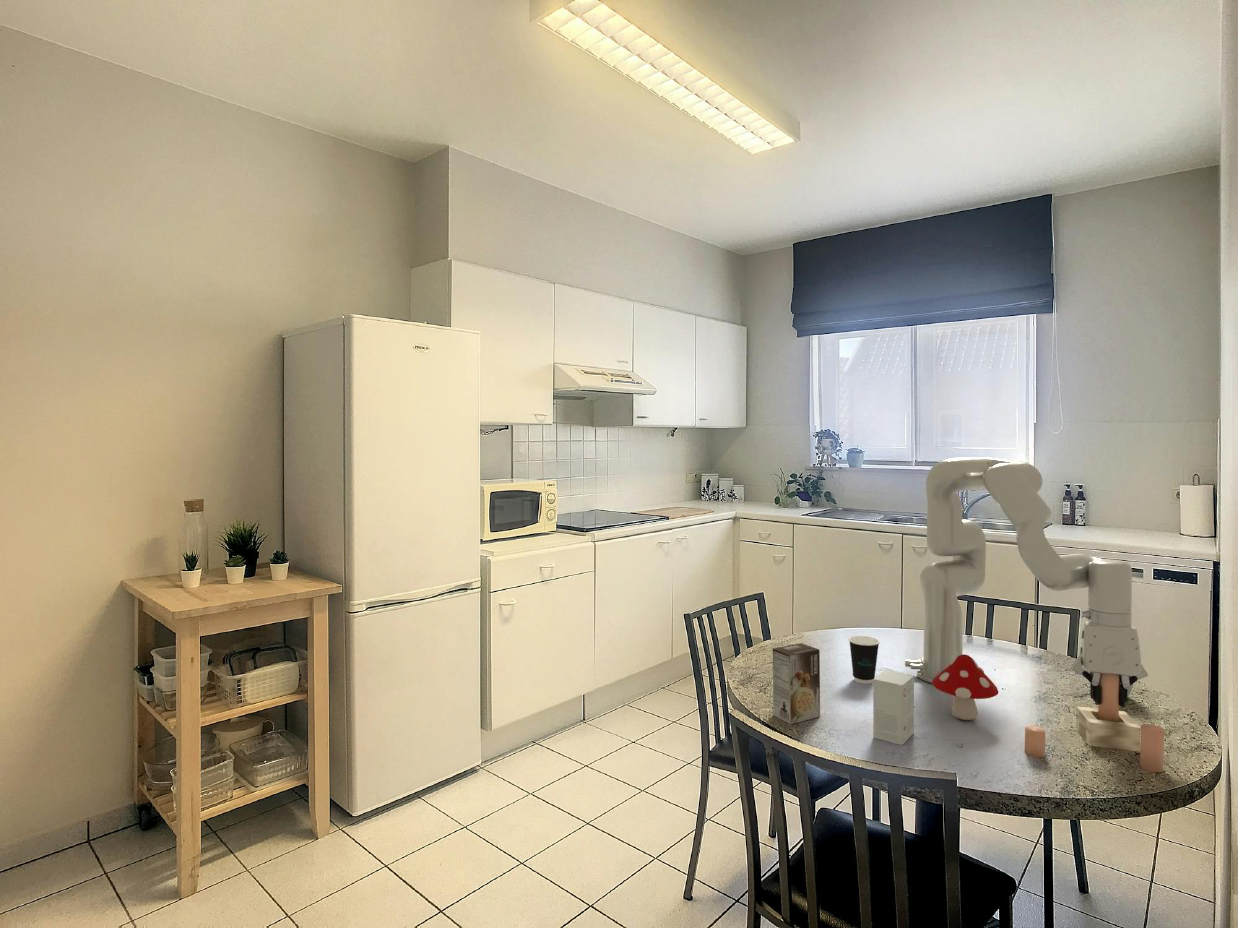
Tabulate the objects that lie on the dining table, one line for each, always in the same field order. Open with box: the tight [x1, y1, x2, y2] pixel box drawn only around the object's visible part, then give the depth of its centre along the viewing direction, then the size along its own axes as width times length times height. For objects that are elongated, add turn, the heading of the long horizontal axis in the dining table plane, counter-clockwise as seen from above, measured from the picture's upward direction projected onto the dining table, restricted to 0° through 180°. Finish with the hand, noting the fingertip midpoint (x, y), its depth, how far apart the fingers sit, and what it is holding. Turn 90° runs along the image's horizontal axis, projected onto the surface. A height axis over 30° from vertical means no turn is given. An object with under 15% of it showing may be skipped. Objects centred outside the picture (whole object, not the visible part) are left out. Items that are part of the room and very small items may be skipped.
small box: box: [872, 669, 915, 746], centre depth 150 cm, size 8×6×13 cm
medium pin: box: [1139, 723, 1165, 773], centre depth 135 cm, size 4×4×8 cm
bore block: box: [1075, 706, 1141, 753], centre depth 148 cm, size 9×9×5 cm
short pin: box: [1024, 725, 1046, 759], centre depth 142 cm, size 4×4×5 cm
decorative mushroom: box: [931, 654, 999, 721], centre depth 159 cm, size 14×14×15 cm
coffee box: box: [772, 642, 821, 725], centre depth 161 cm, size 9×6×16 cm
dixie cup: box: [848, 635, 881, 685], centre depth 184 cm, size 8×8×11 cm
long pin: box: [1097, 673, 1120, 722], centre depth 147 cm, size 4×4×12 cm
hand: (1108, 702), depth 147 cm, fingers closed on long pin, 3 cm apart
